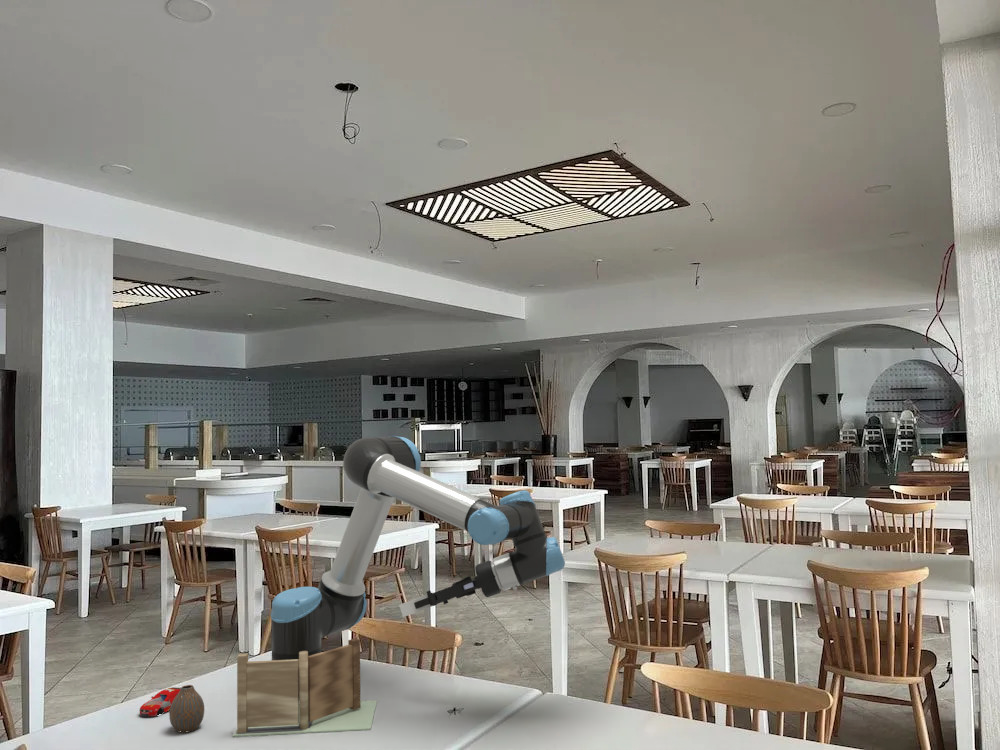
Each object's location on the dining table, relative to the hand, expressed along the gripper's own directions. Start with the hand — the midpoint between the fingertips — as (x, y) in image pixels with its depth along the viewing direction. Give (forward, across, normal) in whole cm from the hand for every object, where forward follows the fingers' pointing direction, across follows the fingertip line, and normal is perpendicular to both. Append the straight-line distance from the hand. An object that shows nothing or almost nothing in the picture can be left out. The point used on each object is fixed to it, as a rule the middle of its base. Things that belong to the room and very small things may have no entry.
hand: (407, 608), depth 176 cm
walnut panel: (+22, -2, -16) cm, 27 cm away
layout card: (+27, -2, -14) cm, 31 cm away
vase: (+51, -9, -8) cm, 52 cm away
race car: (+61, +3, -2) cm, 61 cm away
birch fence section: (+32, -10, -14) cm, 36 cm away
